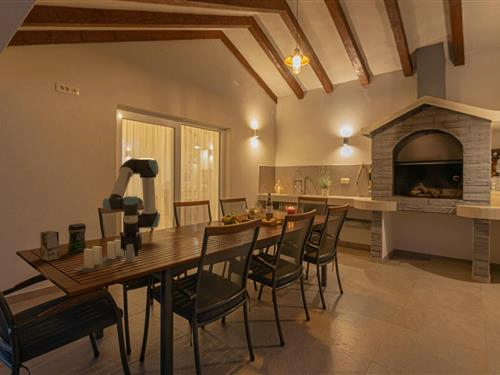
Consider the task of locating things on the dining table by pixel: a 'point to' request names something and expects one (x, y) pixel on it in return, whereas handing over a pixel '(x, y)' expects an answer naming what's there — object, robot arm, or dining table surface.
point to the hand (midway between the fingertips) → (130, 261)
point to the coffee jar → (76, 238)
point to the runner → (104, 263)
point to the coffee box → (49, 245)
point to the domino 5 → (129, 252)
